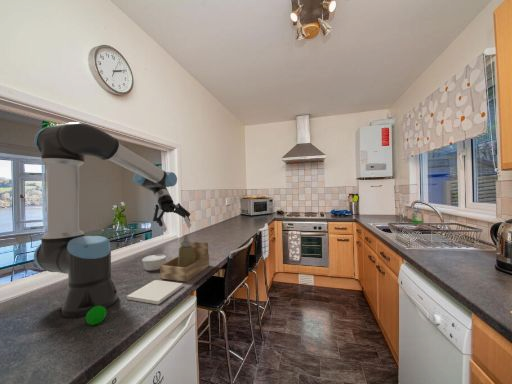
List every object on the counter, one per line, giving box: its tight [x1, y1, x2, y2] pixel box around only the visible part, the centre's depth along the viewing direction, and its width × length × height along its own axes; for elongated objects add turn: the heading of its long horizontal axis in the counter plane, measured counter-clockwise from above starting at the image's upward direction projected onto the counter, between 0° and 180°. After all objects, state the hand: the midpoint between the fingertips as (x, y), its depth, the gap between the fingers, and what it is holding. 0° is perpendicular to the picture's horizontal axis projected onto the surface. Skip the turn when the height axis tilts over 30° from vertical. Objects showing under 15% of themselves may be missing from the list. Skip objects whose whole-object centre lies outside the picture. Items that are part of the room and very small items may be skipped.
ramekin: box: [141, 254, 167, 272], centre depth 107 cm, size 11×11×5 cm
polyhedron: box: [85, 306, 108, 326], centre depth 62 cm, size 5×5×5 cm
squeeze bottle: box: [177, 234, 195, 268], centre depth 100 cm, size 8×8×18 cm
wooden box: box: [159, 241, 210, 283], centre depth 100 cm, size 14×20×12 cm
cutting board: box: [126, 279, 184, 305], centre depth 80 cm, size 14×14×1 cm
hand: (178, 228), depth 107 cm, fingers open, 13 cm apart
